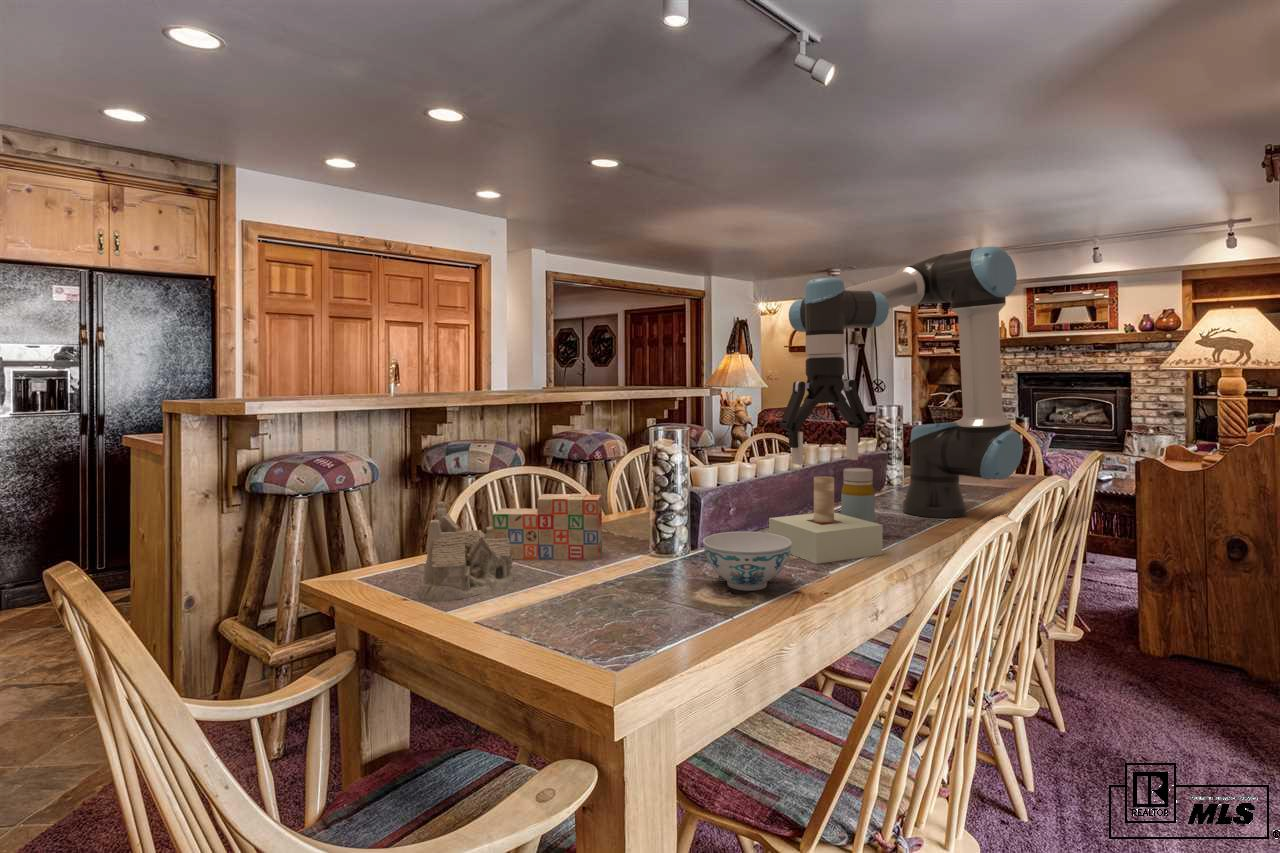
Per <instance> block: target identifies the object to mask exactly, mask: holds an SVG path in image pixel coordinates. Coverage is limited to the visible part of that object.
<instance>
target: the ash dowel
mask: <svg viewBox="0 0 1280 853" xmlns="http://www.w3.org/2000/svg"><path fill="white" fill-rule="evenodd" d="M834 512H835V477H834V476H826V475H823V476H818V475H817V476H814V477H813V513H814V523H816V524H820V525H827V524H834Z"/></svg>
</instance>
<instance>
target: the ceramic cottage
mask: <svg viewBox="0 0 1280 853" xmlns="http://www.w3.org/2000/svg"><path fill="white" fill-rule="evenodd" d="M436 507H437V510H436V516H437V519H432V520H430V521H429V527H428V528H429V529H428V535H427V538H426V544H427V549H426V550H427V551H426V552H427V553H426V554H427V555H426V561H425V563H424V569H423V574H422V576H421V577H420V578H419V583H420V584H419V590H418V598H419V599H420V600H423V601H428V602H448V601H449V602H450V601H457V600H464V599H469V598H473V597H476V596H478V595H481V594H482V595H483V594H486V593H487V592H488V593H489V592H491V591H494V590H499V589H502V588H504V587H508V586H510V585H512V584H513V583H514V576H513V574H512V568H513V566H512V565H513V564H514V562H513V560H514V559H513V557H512V553H511V552H510V541H509V538H502V539H494V529H493V526H486V528H485V531H486V532H485V533H484V532H483V531H482V530H481V529H479V530H477V529H475V530H474V529H473V530H461V526H460V525H458V524H457V523H456V522H455V521H454V520H453V518H452V517H451V515H450V514H449V513H448V511H447V508H446V506H445V503H444V501H438V502H437V503H436Z"/></svg>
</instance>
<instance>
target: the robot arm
mask: <svg viewBox="0 0 1280 853" xmlns="http://www.w3.org/2000/svg"><path fill="white" fill-rule="evenodd" d="M1017 276H1018V275H1017V269H1016V266H1015V262H1014V261H1013V259H1012V257H1011V256H1010V255H1009V254H1008V252H1007V251H1006V250H1004V249H1003V248H1002V247H999V246H995V245H994V246H983V247H982V246H980V247H975V248H970V249H965V250H961V251H955V252H949V253H943V254H939V255H935V256H931V257H929V258H927V259H923V260H921V261H919V262H915V263H913V264H911V265H907V266H903V267H901V268H900V269H898V270H897V271H895V273H894V274H891V275H887V276H884V277H880V278H877V279H874V280H870V281H866V282H863V283H858V284H856V285H852V286H849V287H845V284H844V281H843V278H839V277H822V278H821V277H819V278H813V279H811V280H809V281H807V282H806V284H805V294H804V297H803V298H801V299H797V300H795V301H794V302H793V303H792V304H791V306H790V307H789V310H788V321H789V324H790V326H791V327H792V328H793V329H794V331H797V332H799V333H805V355H806V356H808V358H806V360H805V375H806V378H807V379H806V382H805V381H794V382H793V384H792V393H791V395H790V398H789V400H788V403H787V405H786V407H785V411H784V413H783V415H782V417H781V421H780V423H779V427H780V429H783V430H785V431H786V432H787V433H788V446H789V448H791V464H792V465H798V466H802V465H804V432H803V431H800V430H801V428H802V426H804V424H805V422H806V421H807V419H808V418H809V416H810V415H811V413H812V411H813V410H814V409H815V407H816V406H817V405H819V404H826V403H828V404H829V403H830V404H833V405H834V406H835V407H836V408H837V410H838V412H839V413H840V414H841V415H842V417H843V418H844V420H845V421H846V422H847V424H848V425H849V427H846V429H845V430H846V432H845V434H846V436H845V437H846V441H845V442H846V446H845V447H846V449H845V450H846V455H845V456H846V457H845V458H846V460H852V461H858V460H859V444H860V442H861V429H863V428H864V427H865V425H867V424H869V422H870V421H869V420H870V419H869V417H868V414H867V413H866V410H865V408H864V405H863V402H862V401H861V398H860V396H859V393H858V391H857V382H856V380H855V379H844V380H843V376H844V375H845V359H844V357H842V355H844V353H845V330H846V329H857V328H859V329H860V328H861V329H862V328H864V329H871V328H878V327H880V326H881V325H883V324H885V322H886V320H887V318H888V316H889V311H890V309H893V308H894V309H895V308H896V307H900V306H903V307H914V306H919V305H925V304H941V303H942V304H943V303H950V311H952V312H953V313H954V314H955V315H957V317H958V335H959V336H958V338H959V339H958V340H959V354H960V355H959V357H960V358H959V359H960V377H961V378H960V380H961V398H962V400H961V402H962V417H961V418H960V419H959V420H958V421H952V422H951V421H950V422H941V423H939V422H938V423H927V424H919V425H915V426H913V427H912V429H911V431H910V432H911V433H910V440H909V447H910V448H909V449H910V450H909V453H910V455H909V456H910V460H909V463H910V466H909V467H910V468H909V469H910V480H909V484H908V487H907V490H906V495H905V498H904V500H903V501H902V512H904V513H905V514H908V515H912V516H918V517H925V518H936V519H937V518H940V519H942V518H947V519H949V518H960V517H964V516H966V515H967V504H966V503H965V501H964V496H963V493H962V490H961V486H960V476H964V477H972V478H980V479H984V480H1005V479H1008V478H1009V477H1010V476H1012V475H1013V474H1014V472H1015V471H1016V470H1017V468H1018V467H1019V465H1020V463H1021V461H1022V457H1023V453H1024V452H1023V451H1024V443H1023V439H1022V438H1021V435H1020V434H1019V433H1018V432H1017V431H1014V430H1012V429H1011V428H1012V427H1011V420H1010V419H1008V417H1006V416H1005V415H1004V409H1003V389H1002V388H1003V387H1002V385H1003V384H1002V381H1003V380H1002V361H1001V339H1000V338H1001V337H1000V336H1001V335H1000V334H1001V333H1000V331H1001V330H1000V314H999V313H1000V312H1001V311H1002V309H1003V308H1004V307H1005V306H1006V302H1007V301H1006V297H1008V296H1010V295H1011V294H1012V293H1013V292H1014V290H1015V288H1016V287H1015V286H1016V284H1017ZM842 391H844V394H843V393H842ZM806 392H808V393H807V395H806V396H805V394H806ZM804 396H805V397H804ZM802 402H803V403H802Z"/></svg>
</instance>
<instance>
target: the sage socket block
mask: <svg viewBox="0 0 1280 853" xmlns="http://www.w3.org/2000/svg"><path fill="white" fill-rule="evenodd" d="M883 528H884V526H883V524H880V523H877V522H875V523H873V522H870V521H866V520H862V519H858V518H854V517H850V516H846V515H843V514H841V513H838V512H835V511H834V524H827V525H820V524H816V523H814V512H813V513H803V514H795V515H787V516H786V515H785V516H778V517H776V516H775V517H769V518H768V533H771V534H776V535H780V536H783V537H786V538H788V539H789V540H791V542H792V544H791V550H790V553H789V555H791V554H792V555H791V556H794V557H796V556H797V558H799V557H800V558H799V559H802V560H804V559H805V561H807V562H811V563H812V564H816V565H818V564H825V563H831V562H839V561H847V560H854V559H862V558H867V557H876V556H882V555H883V535H884V534H883Z"/></svg>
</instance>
